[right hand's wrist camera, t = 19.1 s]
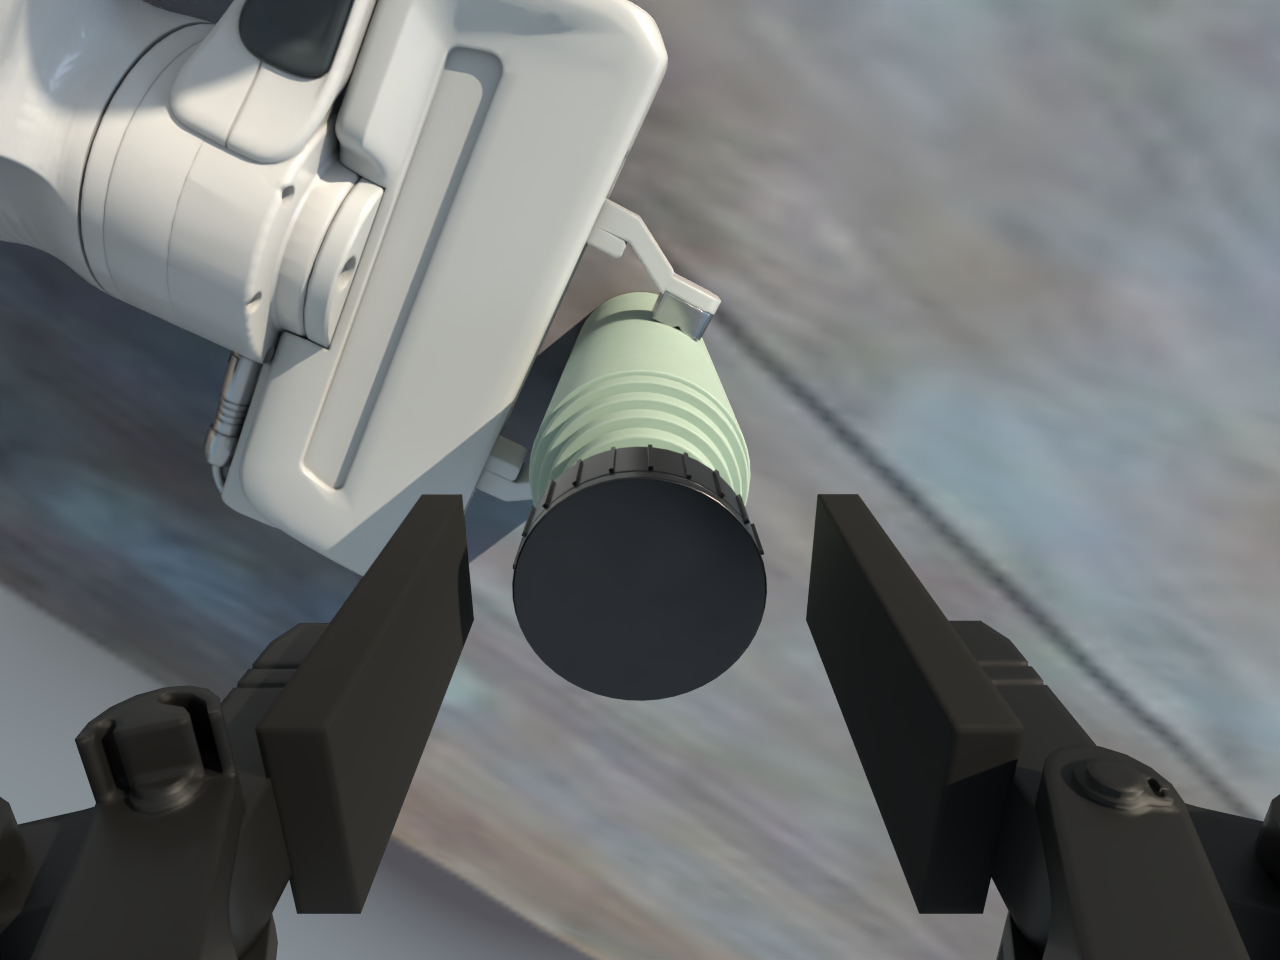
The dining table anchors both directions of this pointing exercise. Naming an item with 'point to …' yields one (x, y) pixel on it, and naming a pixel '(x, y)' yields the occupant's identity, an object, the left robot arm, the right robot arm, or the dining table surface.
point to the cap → (639, 575)
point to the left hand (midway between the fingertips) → (663, 406)
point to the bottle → (638, 398)
